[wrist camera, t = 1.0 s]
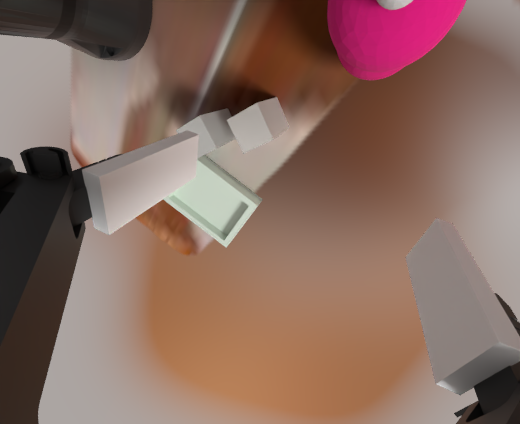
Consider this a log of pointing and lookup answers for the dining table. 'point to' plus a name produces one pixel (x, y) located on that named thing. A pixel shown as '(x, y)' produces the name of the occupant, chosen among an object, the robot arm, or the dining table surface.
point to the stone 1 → (210, 130)
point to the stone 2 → (258, 124)
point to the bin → (215, 201)
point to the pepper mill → (387, 32)
